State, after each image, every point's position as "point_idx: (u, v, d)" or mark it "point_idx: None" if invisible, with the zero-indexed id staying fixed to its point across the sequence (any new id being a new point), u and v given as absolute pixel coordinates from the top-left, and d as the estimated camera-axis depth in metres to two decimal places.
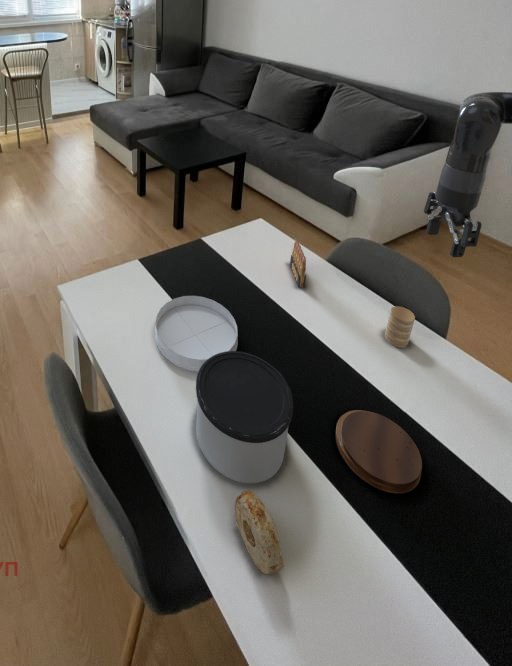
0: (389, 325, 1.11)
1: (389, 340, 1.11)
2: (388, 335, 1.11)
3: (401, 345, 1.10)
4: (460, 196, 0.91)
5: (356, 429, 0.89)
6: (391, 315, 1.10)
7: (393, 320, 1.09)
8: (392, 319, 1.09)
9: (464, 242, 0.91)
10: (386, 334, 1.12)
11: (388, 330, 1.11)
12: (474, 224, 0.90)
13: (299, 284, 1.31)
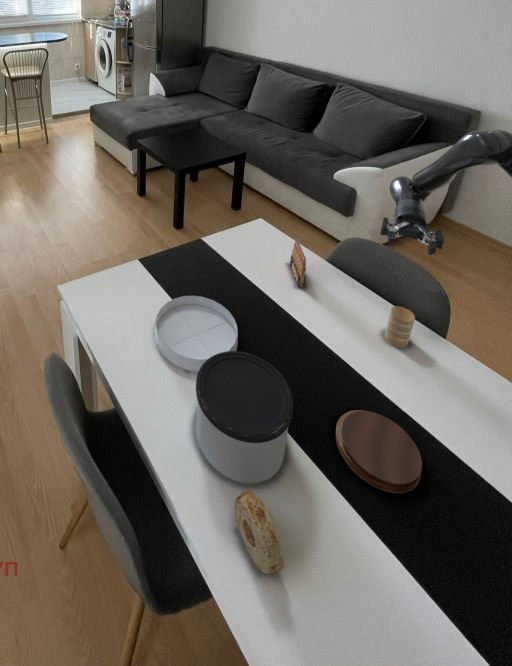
0: (389, 325, 1.11)
1: (389, 340, 1.11)
2: (388, 335, 1.11)
3: (401, 345, 1.10)
4: None
5: (356, 429, 0.89)
6: (391, 315, 1.10)
7: (393, 320, 1.09)
8: (392, 319, 1.09)
9: None
10: (386, 334, 1.12)
11: (388, 330, 1.11)
12: None
13: (299, 284, 1.31)
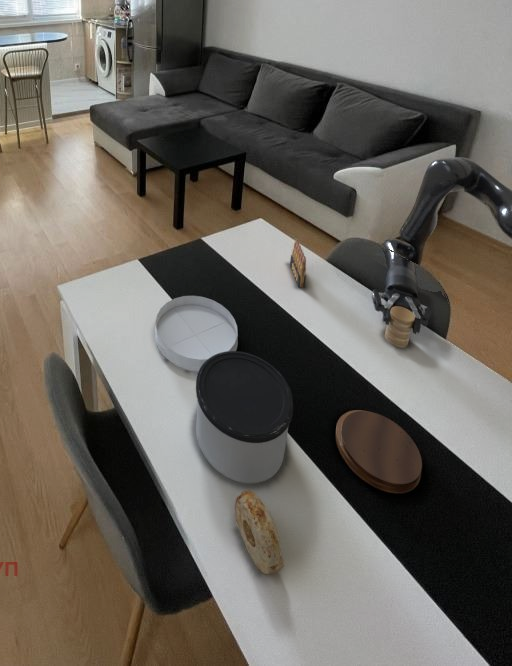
0: (389, 325, 1.11)
1: (389, 340, 1.11)
2: (388, 335, 1.11)
3: (401, 345, 1.10)
4: None
5: (356, 429, 0.89)
6: (391, 315, 1.10)
7: (393, 320, 1.09)
8: (392, 319, 1.09)
9: None
10: (386, 334, 1.12)
11: (388, 330, 1.11)
12: (372, 293, 1.19)
13: (299, 284, 1.31)
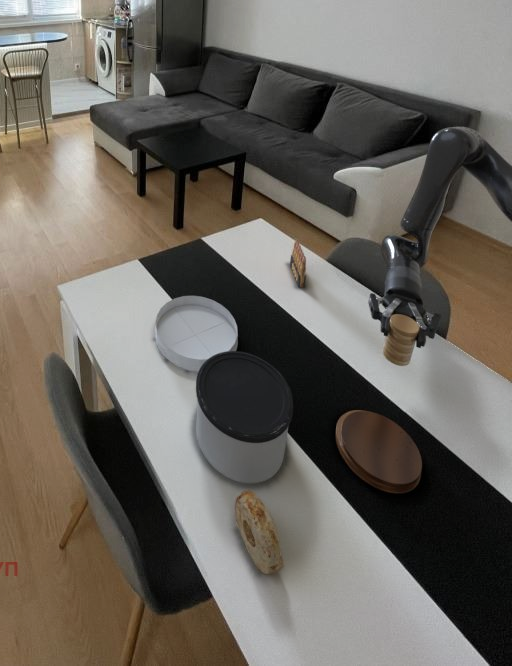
0: (388, 337, 0.93)
1: (388, 354, 0.93)
2: (388, 349, 0.93)
3: (402, 361, 0.92)
4: None
5: (356, 429, 0.89)
6: (390, 325, 0.92)
7: (393, 331, 0.91)
8: (392, 330, 0.92)
9: None
10: (385, 347, 0.94)
11: (387, 342, 0.93)
12: None
13: (299, 284, 1.31)
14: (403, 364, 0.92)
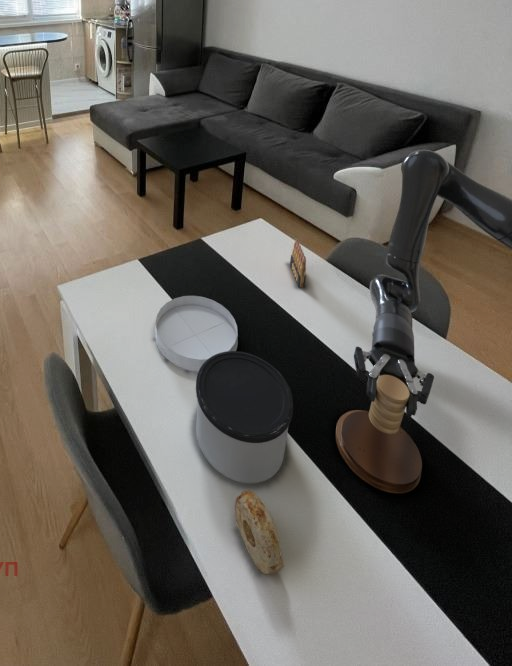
0: (375, 401, 0.82)
1: (375, 420, 0.83)
2: (374, 414, 0.83)
3: (391, 429, 0.81)
4: None
5: (356, 429, 0.89)
6: (377, 388, 0.81)
7: (380, 396, 0.81)
8: (379, 394, 0.81)
9: None
10: (371, 411, 0.84)
11: (374, 407, 0.83)
12: None
13: (299, 284, 1.31)
14: (391, 432, 0.82)
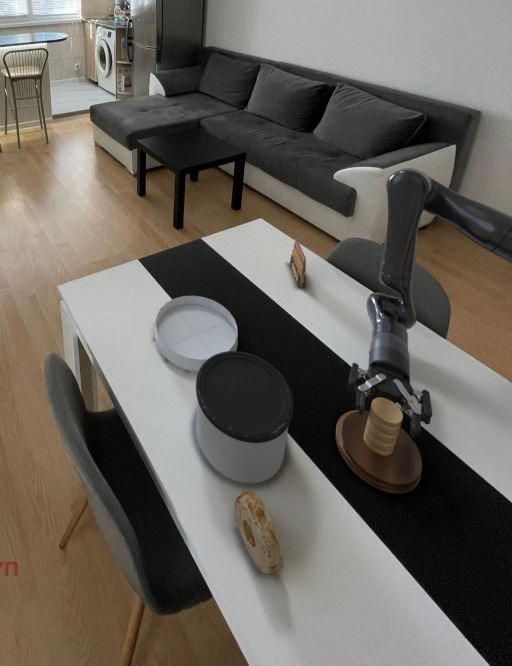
0: (369, 423, 0.85)
1: (370, 442, 0.85)
2: (369, 436, 0.85)
3: (385, 450, 0.84)
4: None
5: (356, 429, 0.89)
6: (372, 411, 0.84)
7: (374, 418, 0.83)
8: (373, 417, 0.83)
9: None
10: (366, 433, 0.86)
11: (368, 429, 0.85)
12: None
13: (299, 284, 1.31)
14: (385, 454, 0.84)
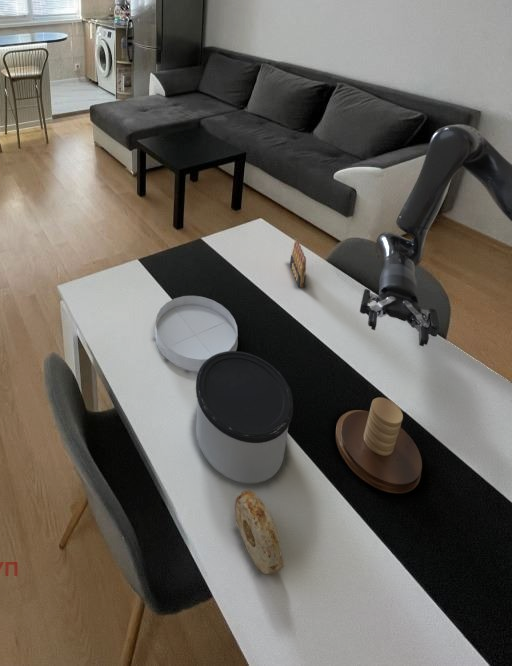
0: (369, 423, 0.85)
1: (370, 442, 0.85)
2: (369, 436, 0.85)
3: (385, 450, 0.84)
4: None
5: (356, 429, 0.89)
6: (372, 411, 0.84)
7: (374, 418, 0.83)
8: (373, 417, 0.83)
9: None
10: (366, 433, 0.86)
11: (368, 429, 0.85)
12: None
13: (299, 284, 1.31)
14: (385, 454, 0.84)
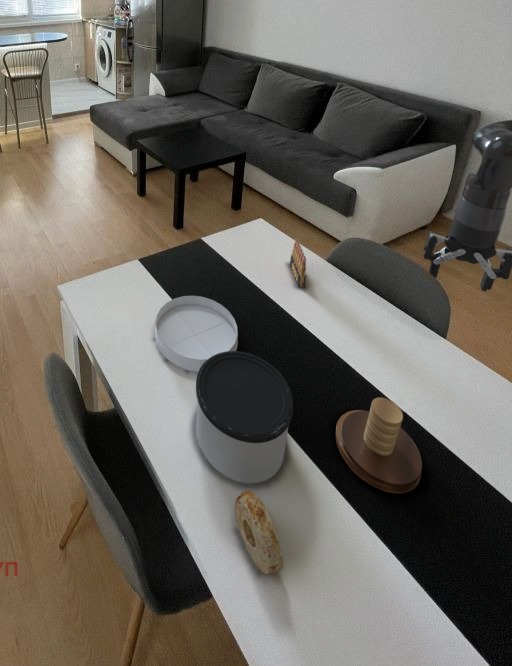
0: (369, 423, 0.85)
1: (370, 442, 0.85)
2: (369, 436, 0.85)
3: (385, 450, 0.84)
4: None
5: (356, 429, 0.89)
6: (372, 411, 0.84)
7: (374, 418, 0.83)
8: (373, 417, 0.83)
9: None
10: (366, 433, 0.86)
11: (368, 429, 0.85)
12: (430, 234, 0.93)
13: (299, 284, 1.31)
14: (385, 454, 0.84)
